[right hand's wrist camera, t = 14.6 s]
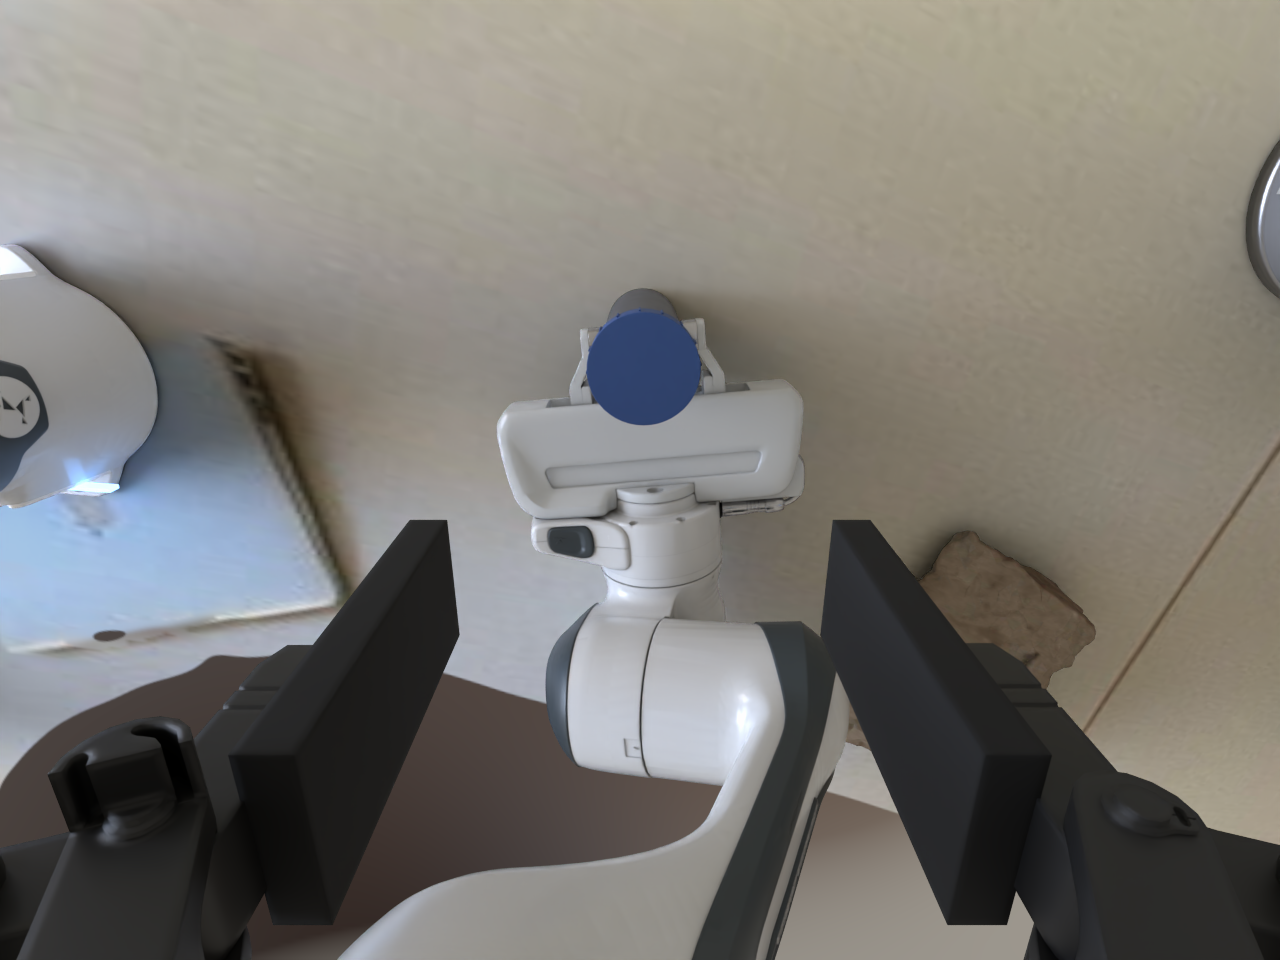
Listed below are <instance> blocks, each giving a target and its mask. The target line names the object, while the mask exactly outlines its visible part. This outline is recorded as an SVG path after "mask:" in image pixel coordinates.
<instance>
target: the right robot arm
mask: <svg viewBox="0 0 1280 960" xmlns="http://www.w3.org/2000/svg"><path fill="white" fill-rule="evenodd" d="M1246 242H1247V249H1248V253H1249V257H1250V261H1251V263H1252V266H1253V268H1254V270H1255V272H1256V274H1257V276H1258V277H1259V279H1260V280H1261V282H1262V283H1263V284H1264V285H1265V286H1266V287H1267V289H1268V290H1269V291H1271V292H1272V293H1273V294H1274V295H1276V296H1277V297H1278V298H1280V140H1279V142H1278V143H1277V145H1276V146H1275V147H1274V149H1273V150H1272V152H1271V154H1270V155H1269V157H1268V158H1267V160H1266V162H1265V164H1264V166H1263V168H1262V170H1261V172H1260V174H1259V176H1258V178H1257V181H1256V183H1255V186H1254V189H1253V192H1252V195H1251V199H1250V203H1249V206H1248V213H1247V220H1246ZM458 637H459V625H458V616H457V607H456V598H455V589H454V579H453V570H452V561H451V552H450V542H449V533H448V524H447V520H409V522H408V523H407V524H406V526H405V527H404V528H403V529H402V531H401V532H400V533H399V535H398V536H397V537H396V539H395V540H394V541H393V542H392V544H391V545H390V546H389V548H388V549H387V550H386V551H385V553H384V554H383V555H382V557H381V558H380V559H379V560H378V562H377V563H376V564H375V566H374V567H373V568H372V570H371V571H370V572H369V573H368V575H367V576H366V577H365V579H364V580H363V581H362V582H361V584H360V585H359V586H358V588H357V589H356V590H355V591H354V593H353V594H352V595H351V597H350V598H349V599H348V600H347V602H346V603H345V604H344V606H343V607H342V608H341V610H340V611H339V612H338V613H337V615H336V616H335V617H334V619H333V620H332V621H331V622H330V624H329V625H328V626H327V628H326V629H325V630H324V631H323V633H322V634H321V635H320V637H319V638H318V639H317V641H316V642H315V643H314V644H313V645H287V646H285V647H284V648H282V649H281V650H279V651H278V652H276V653H275V654H273V655H272V656H270V657H269V658H267V659H266V660H264V661H263V662H261V663H260V664H258V665H257V666H256V668H255V669H254V670H253V671H252V672H251V673H250V675H249V676H248V677H247V678H246V679H245V680H244V681H243V683H242V684H241V685H240V686H239V691H235V692H234V693H233V694H232V695H231V697H230V698H229V699H228V700H227V701H226V702H225V704H224V705H223V709H222V710H218V712H217V713H216V714H215V715H214V716H213V717H212V719H211V720H210V721H209V722H208V723H207V724H206V725H205V727H204V728H203V729H202V730H201V731H200V732H199V734H198V735H197V736H196V737H195V738H194V739H193V736H192V733H191V729H190V727H189V726H188V725H186V724H185V723H184V722H182V721H181V720H180V719H175V718H168V717H161V716H159V717H151V718H143V719H136V720H133V721H129V722H126V723H123V724H120V725H117V726H114V727H110V728H108V729H106V730H104V731H102V732H100V733H98V734H96V735H94V736H92V737H90V738H88V739H86V740H84V741H82V742H81V743H80V744H78V745H77V746H76V747H74V748H73V749H72V750H70V751H69V752H68V753H66V754H65V755H64V756H62V757H61V758H60V760H59V761H58V762H57V763H56V764H55V766H54V767H53V768H52V769H51V771H50V772H49V773H48V777H49V780H50V782H51V785H52V787H53V790H54V793H55V795H56V798H57V800H58V803H59V805H60V808H61V810H62V813H63V816H64V818H65V821H66V824H67V826H68V829H69V831H70V832H66V833H63V834H59V835H54V836H51V837H46V838H42V839H38V840H33V841H29V842H25V843H21V844H16V845H12V846H8V847H4V848H0V960H251V956H252V949H251V942H250V936H249V932H248V929H247V923H248V922H249V920H250V918H251V916H252V914H253V913H254V911H255V909H256V907H257V906H258V904H259V902H260V900H261V898H262V897H263V895H264V893H265V896H266V900H267V904H268V908H269V912H270V915H271V919H272V923H273V925H333V923H334V920H335V918H336V916H337V914H338V911H339V909H340V907H341V904H342V902H343V900H344V897H345V895H346V893H347V891H348V888H349V886H350V884H351V882H352V879H353V877H354V875H355V872H356V870H357V868H358V866H359V863H360V861H361V859H362V856H363V854H364V852H365V850H366V847H367V845H368V843H369V840H370V838H371V836H372V834H373V831H374V829H375V827H376V824H377V822H378V820H379V818H380V815H381V813H382V811H383V808H384V806H385V804H386V802H387V799H388V797H389V795H390V793H391V790H392V788H393V786H394V783H395V781H396V779H397V776H398V774H399V772H400V770H401V767H402V765H403V763H404V761H405V758H406V756H407V754H408V751H409V749H410V747H411V745H412V742H413V740H414V738H415V735H416V733H417V731H418V729H419V726H420V724H421V722H422V719H423V717H424V715H425V713H426V710H427V708H428V706H429V703H430V701H431V699H432V697H433V694H434V692H435V690H436V687H437V685H438V683H439V680H440V678H441V676H442V674H443V671H444V669H445V667H446V665H447V662H448V660H449V658H450V656H451V653H452V651H453V649H454V646H455V644H456V642H457V640H458ZM821 637H822V640H823V642H824V644H825V646H826V649H827V651H828V653H829V656H830V658H831V660H832V662H833V665H834V667H835V669H836V671H837V674H838V676H839V678H840V681H841V683H842V685H843V687H844V690H845V692H846V694H847V697H848V699H849V701H850V703H851V706H852V708H853V710H854V713H855V715H856V717H857V719H858V722H859V724H860V726H861V729H862V731H863V733H864V735H865V738H866V740H867V742H868V745H869V747H870V749H871V751H872V754H873V756H874V758H875V761H876V763H877V765H878V767H879V770H880V772H881V774H882V777H883V779H884V781H885V783H886V786H887V788H888V790H889V793H890V795H891V797H892V799H893V802H894V804H895V806H896V808H897V811H898V813H899V815H900V818H901V820H902V822H903V824H904V827H905V829H906V831H907V834H908V836H909V838H910V840H911V843H912V845H913V847H914V850H915V852H916V854H917V856H918V859H919V861H920V863H921V866H922V868H923V870H924V872H925V875H926V877H927V879H928V881H929V884H930V886H931V888H932V891H933V893H934V895H935V898H936V900H937V902H938V904H939V907H940V909H941V911H942V914H943V916H944V918H945V920H946V923H947V925H1007V923H1008V919H1009V915H1010V911H1011V908H1012V904H1013V900H1014V896H1015V893H1016V891H1017V893H1018V895H1019V897H1020V898H1021V900H1022V902H1023V904H1024V905H1025V907H1026V909H1027V911H1028V913H1029V914H1030V916H1031V918H1032V920H1033V922H1034V925H1033V929H1032V932H1031V936H1030V939H1029V943H1028V946H1027V950H1026V953H1025V957H1024V960H1280V845H1277V844H1273V843H1268V842H1264V841H1260V840H1256V839H1251V838H1247V837H1243V836H1239V835H1234V834H1230V833H1226V832H1222V831H1217V830H1214V829H1210V828H1207V827H1206V825H1205V824H1204V822H1203V821H1202V820H1201V818H1200V817H1199V815H1198V814H1197V813H1196V812H1195V811H1194V810H1192V809H1191V808H1190V807H1189V806H1188V805H1187V804H1185V803H1184V802H1183V801H1182V800H1181V799H1180V798H1178V797H1177V796H1175V795H1174V794H1172V793H1170V792H1168V791H1167V790H1165V789H1163V788H1161V787H1160V786H1158V785H1156V784H1154V783H1152V782H1150V781H1147V780H1144V779H1141V778H1138V777H1136V776H1133V775H1130V774H1127V773H1121V772H1117V771H1116V769H1115V768H1114V767H1113V766H1112V765H1111V764H1110V762H1109V761H1108V760H1107V759H1106V758H1105V757H1104V756H1103V754H1102V753H1101V752H1100V751H1099V750H1098V749H1097V748H1096V746H1095V745H1094V744H1093V743H1092V742H1091V741H1090V739H1089V738H1088V737H1087V736H1086V735H1085V734H1084V733H1083V731H1082V730H1081V729H1080V728H1079V727H1078V726H1077V725H1076V723H1075V722H1074V721H1073V720H1072V719H1071V718H1070V717H1069V715H1068V714H1067V713H1066V712H1065V711H1064V710H1063V708H1062V707H1058V705H1057V702H1056V700H1055V699H1054V698H1053V697H1052V696H1051V695H1050V694H1049V692H1048V691H1047V690H1046V689H1042V687H1041V683H1040V682H1039V681H1038V680H1037V679H1036V677H1035V676H1034V675H1033V674H1032V673H1031V672H1030V671H1029V669H1028V668H1027V667H1026V666H1025V665H1024V664H1023V662H1021V661H1020V660H1018V659H1017V658H1015V657H1014V656H1012V655H1011V654H1009V653H1008V652H1006V651H1004V650H1003V649H1001V648H1000V647H998V646H997V645H995V644H994V643H965V642H964V641H963V639H962V638H961V637H960V635H959V634H958V633H957V631H956V630H955V629H954V628H953V626H952V625H951V624H950V622H949V621H948V620H947V619H946V617H945V616H944V615H943V613H942V612H941V611H940V610H939V608H938V607H937V606H936V604H935V603H934V602H933V600H932V599H931V598H930V597H929V595H928V594H927V593H926V591H925V590H924V589H923V588H922V586H921V585H920V584H919V582H918V581H917V580H916V579H915V577H914V576H913V575H912V573H911V572H910V571H909V570H908V568H907V567H906V566H905V564H904V563H903V562H902V560H901V559H900V558H899V557H898V555H897V554H896V553H895V551H894V550H893V549H892V548H891V546H890V545H889V544H888V542H887V541H886V540H885V539H884V537H883V536H882V535H881V533H880V532H879V531H878V529H877V528H876V527H875V526H874V524H873V523H872V522H871V520H833V524H832V533H831V542H830V552H829V561H828V570H827V579H826V588H825V598H824V607H823V616H822V625H821Z"/></svg>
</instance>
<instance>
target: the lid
mask: <svg viewBox="0 0 1280 960" xmlns="http://www.w3.org/2000/svg"><path fill="white" fill-rule="evenodd" d="M695 344H697V343H696V341H695V339H693V338H692V336H691V335H690V333H689V332H688V330H687V329H686V328H685V327H684V326H683V323H682V321H680V322H679V321H678V320H677V319H675V318H674V317H672V316H671V315H669V314H667V313H664V312H663V310H661V311H659V310H654V309H645V308H642V309H641V307H639V309H633V310H629V311H626V312H623V313H621V314H619V313H617V316H615V317H613V318H612V319H611V320H609V321H608V322H607V323H606V324H605V325H604V326H603V327H600V328H599V332H598V334H597V335H596V337H595V339H594V341H593V343H592V346H590V347H589V349H588V351H589V354H588V359H587V370H586V374H587V379H588V383H589V387H590V389H591V392H592V394H593V396H594V398H595V399H596V401H597V402H598V403H599V405H600V406H601V407H602V408H603V409H604V410H605V411H606V412H607V413H609V414H610V415H611V416H613V417H614V418H616V419H618V420H620V421H623V422H626V423H629V424H634V425H654V424H659V423H662V422H665V421H667V420H669V419H671V418H673V417H674V416H676V415H677V414H679V413H680V412H681V411H682V410H683V409H684V408H685V407H686V406H687V405H688V404H689V402H690V401H691V400H692V398H693V396H694V394H695V392H696V390H697V388H698V385H699V380H700V373H701V366H702V364H701V361H700V357H699V353H698V350H697V347H696V345H695Z"/></svg>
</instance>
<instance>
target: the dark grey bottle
mask: <svg viewBox="0 0 1280 960" xmlns="http://www.w3.org/2000/svg"><path fill="white" fill-rule="evenodd" d="M639 307H641V309H642V308H645V309H654V310H659V311H661V310H663V312H664V313H667V314H669V315H671V316H672V317H674V318H675V319H677V320H678V321H679V319H678V317H677V314H676V312H675V309H674V307H673V305H672V304H671V302H670V301H669V300H668V299H667V298H666V297H665V296H664V295H662V294H661V293H659V292H657V291H654V290H651V289H635V290H632V291H629V292H627V293H625V294H624V295H622V296H621V297H620V298H619V299H618V300H617V301H616V302H615V303H614V305H613V306H612V309H611V311H610V313H609V316H608V319H607V322H608V321H609V320H611V319H612V318H613V317H615V316H617V313H619V314H621V313H623V312H626V311H629V310H633V309H639ZM607 322H606V323H607Z"/></svg>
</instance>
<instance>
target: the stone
mask: <svg viewBox="0 0 1280 960" xmlns="http://www.w3.org/2000/svg"><path fill="white" fill-rule="evenodd" d="M918 582H919V584H920V585H921V586H922V588H923V589H924V590H925V591H926V593H927V594H928V595H929V597H930V598H931V599H932V600H933V602H934V603H935V604H936V606H937V607H938V608H939V610H940V611H941V612H942V613H943V615H944V616H945V617H946V619H947V620H948V621H949V622H950V624H951V625H952V626H953V628H954V629H955V630H956V631H957V633H958V634H959V635H960V637H961V638H962V639H963V641H964V642H965V643H994V644H995V645H997V646H998V647H1000V648H1001V649H1003V650H1004V651H1006V652H1008V653H1009V654H1011V655H1012V656H1014V657H1015V658H1017V659H1018V660H1020V661H1021V662H1023V664H1024V665H1025V666H1026V667H1027V668H1028V669H1029V671H1030V672H1031V673H1032V674H1033V675H1034V676H1035V677H1036V679H1037V680H1038V681H1039V682H1040V683H1041V687H1042V689H1046V688H1047V687H1048V685H1049V680H1050V677H1051V676H1052V674H1053V673H1054V672H1056V671H1058V670H1060V669H1062V668H1067V667H1070V666H1072V663H1073V661H1074V659H1075V656H1076V655H1077V654H1078V653H1079V652H1080V651H1081V650H1082V649H1083V647H1084V646H1085V645H1088V644H1089V643H1091V642H1092V641H1093V640H1094V639H1095V634H1096V630H1095V627H1094V625H1093V624H1092V623H1091V622H1090V621H1089V620H1088V618H1087V617H1086V616H1085V615H1084V614H1083V610H1082V609H1081V608H1080V607H1079V606H1078V605H1077V604H1075V603H1074V602H1073V601H1072V600H1071V599H1070V598H1069V597H1067V596H1066V595H1065V594H1064V593H1063V592H1062V591H1061V590H1060V589H1059V588H1058V586H1057V585H1056V584H1055V583H1054V582H1052V581H1051V580H1049V579H1048V578H1046V577H1045V576H1043V575H1042V574H1041V573H1039V572H1038V571H1036V570H1034V569H1032V568H1031V567H1026V566H1022V565H1020V564H1019V563H1018V562H1017V561H1016V560H1013V558H1010V557H1006V556H1005V555H1003V554H1002V553H1001V552H999V551H998V550H996V549H993V548H991V547H989V546H988V545H986V544H984V543H983V542H981V541H980V540H979V537H978V535H977V534H976V533H975V532H973V531H965V532H960V533H956V534H955V535H954V536H953V537H952V539H951V541H950V542H949V543H948V544H947V545H946V546H945V547H944V548H943V549H942V551H941V552H940V554H939V556H938V557H937V559H936V561H935V563H934V564H933V568H932V570H931V571H930V572H929V573H927V574H926V575H925V576H924V577H923V579H921V580H919V581H918ZM849 709H850V710H849V726H848V732H847V738H846V742H848V743H851V744H854V745H857V746H863V747H865V748H867V749H869V750H870V751H871V749H870V747H869V745H868V742H867V740H866V738H865V735H864V733H863V731H862V729H861V726H860V724H859V722H858V719H857V717H856V715H855V713H854V710H853V708H852V706H851V703H850V701H849Z"/></svg>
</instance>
